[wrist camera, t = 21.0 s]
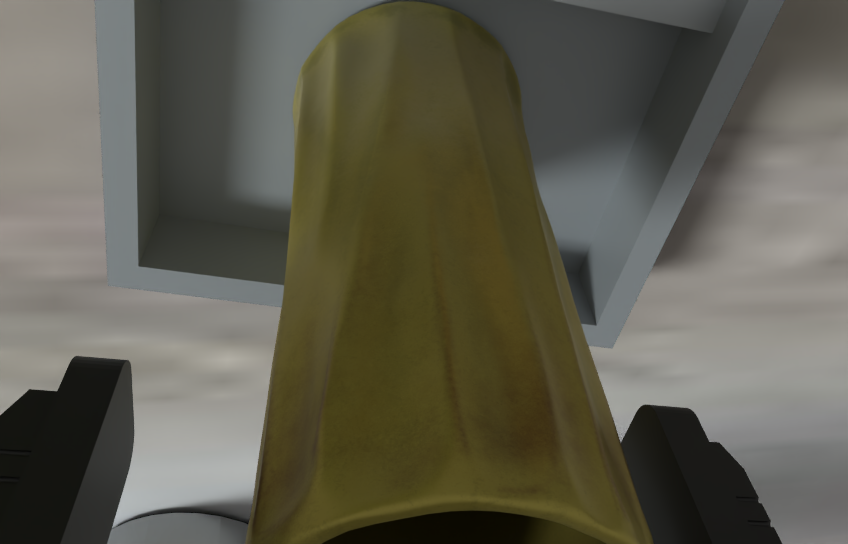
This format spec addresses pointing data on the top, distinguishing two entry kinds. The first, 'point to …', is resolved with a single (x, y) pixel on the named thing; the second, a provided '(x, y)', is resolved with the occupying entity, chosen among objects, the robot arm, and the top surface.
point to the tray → (274, 131)
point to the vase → (428, 312)
